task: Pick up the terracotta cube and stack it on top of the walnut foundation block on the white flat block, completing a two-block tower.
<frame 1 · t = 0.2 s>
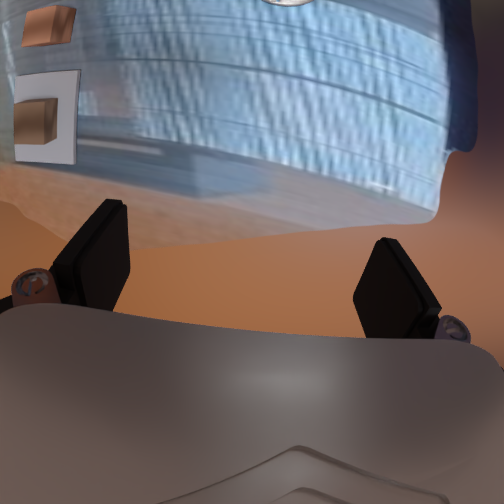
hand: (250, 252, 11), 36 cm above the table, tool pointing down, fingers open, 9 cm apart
white flat block: (44, 117, 39), on the table
terracotta cube: (58, 27, 31), on the table
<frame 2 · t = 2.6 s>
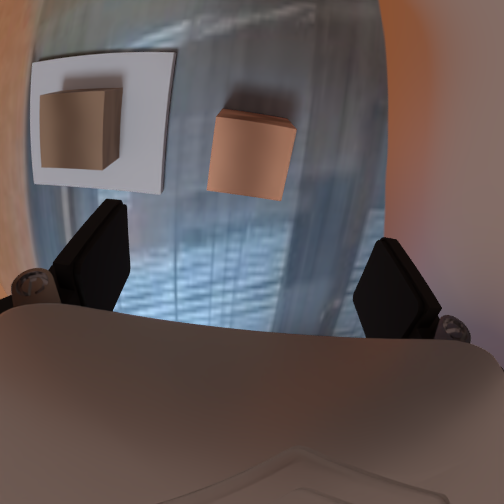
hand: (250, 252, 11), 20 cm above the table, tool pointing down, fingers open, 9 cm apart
white flat block: (93, 121, 26), on the table
terracotta cube: (249, 143, 28), on the table
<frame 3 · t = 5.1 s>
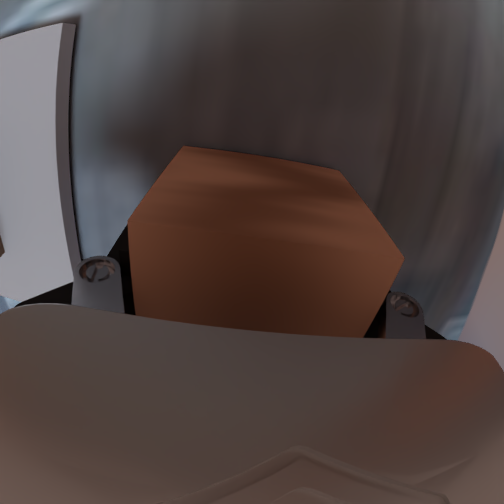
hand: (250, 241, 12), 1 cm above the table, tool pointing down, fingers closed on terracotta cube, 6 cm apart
terracotta cube: (250, 225, 13), on the table, touching gripper
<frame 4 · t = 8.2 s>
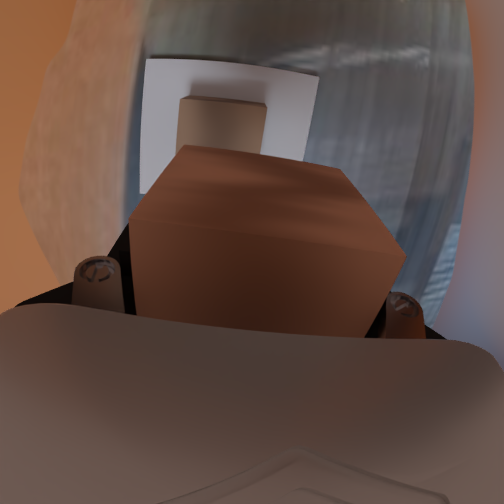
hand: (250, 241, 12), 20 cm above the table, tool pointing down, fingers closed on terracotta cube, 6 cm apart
white flat block: (223, 132, 28), on the table
terracotta cube: (251, 224, 13), point 19 cm above the table, touching gripper
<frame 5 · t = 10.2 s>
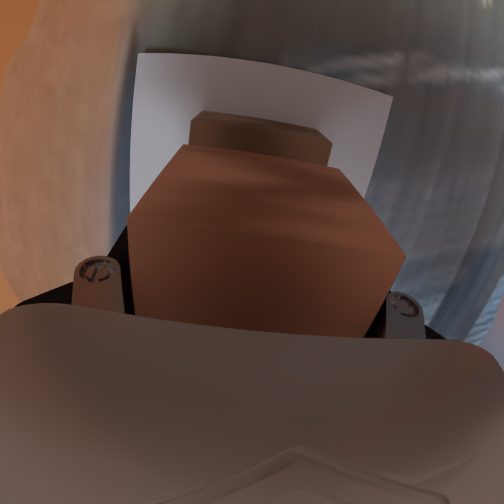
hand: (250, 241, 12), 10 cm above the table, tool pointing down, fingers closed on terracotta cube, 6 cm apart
white flat block: (250, 166, 20), on the table
terracotta cube: (250, 224, 13), point 9 cm above the table, touching gripper
when the fingers open (8 cm above the table, at t = 11.6 s): terracotta cube drops 1 cm, resting on white flat block.
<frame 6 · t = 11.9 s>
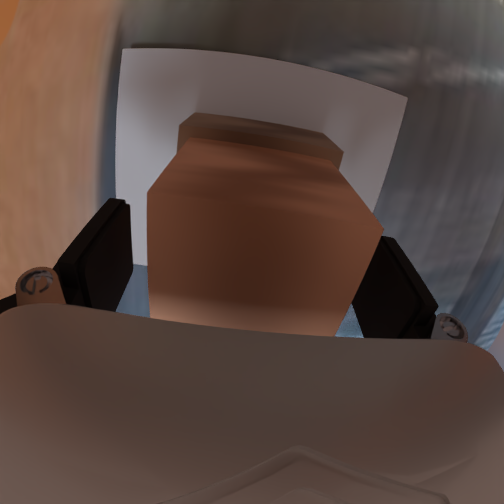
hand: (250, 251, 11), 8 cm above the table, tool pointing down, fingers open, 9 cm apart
white flat block: (249, 174, 18), on the table
terracotta cube: (249, 210, 14), point 5 cm above the table, touching white flat block
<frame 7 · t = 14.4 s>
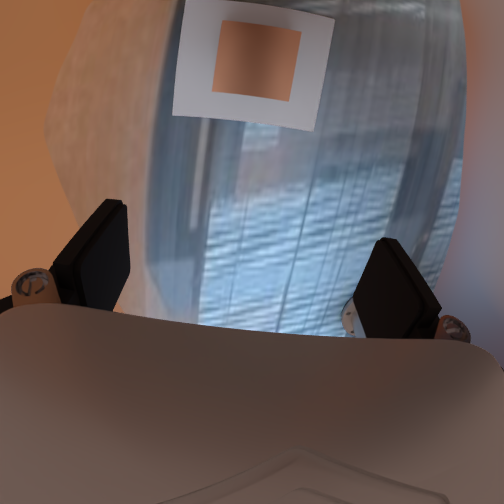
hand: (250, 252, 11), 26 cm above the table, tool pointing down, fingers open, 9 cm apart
white flat block: (252, 61, 29), on the table
terracotta cube: (253, 60, 25), point 5 cm above the table, touching white flat block
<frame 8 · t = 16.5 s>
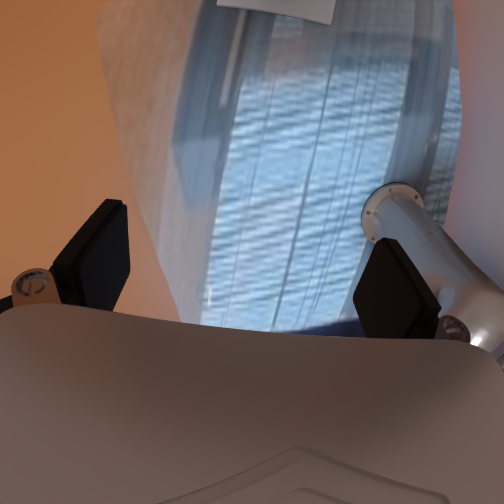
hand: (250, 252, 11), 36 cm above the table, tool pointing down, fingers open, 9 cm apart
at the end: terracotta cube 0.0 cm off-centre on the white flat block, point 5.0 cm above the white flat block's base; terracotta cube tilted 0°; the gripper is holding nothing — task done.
